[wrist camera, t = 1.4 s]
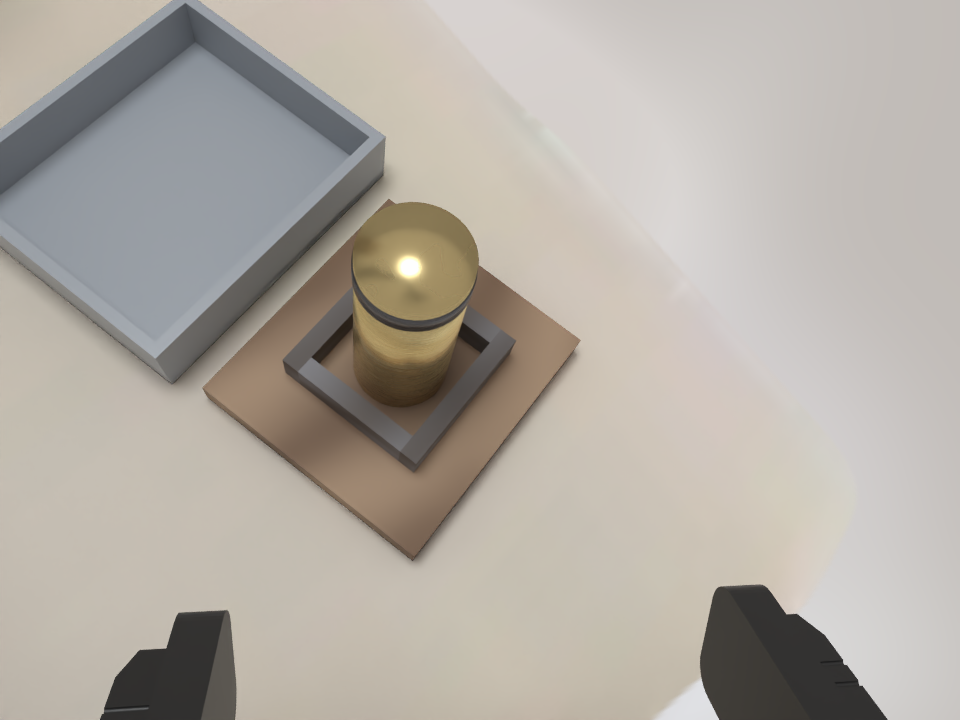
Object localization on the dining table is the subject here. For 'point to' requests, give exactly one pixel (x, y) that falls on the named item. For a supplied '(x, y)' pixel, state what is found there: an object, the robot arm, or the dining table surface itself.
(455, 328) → the pin
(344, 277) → the pin dock
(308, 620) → the dining table surface
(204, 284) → the tray
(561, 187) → the dining table surface
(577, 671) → the dining table surface
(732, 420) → the dining table surface
